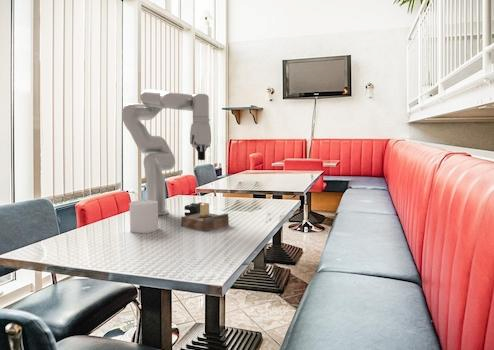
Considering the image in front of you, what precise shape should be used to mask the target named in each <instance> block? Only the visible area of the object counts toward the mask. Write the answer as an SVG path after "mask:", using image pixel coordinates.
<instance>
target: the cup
mask: <svg viewBox="0 0 494 350" xmlns="http://www.w3.org/2000/svg"><path fill="white" fill-rule="evenodd" d="M129 230H130V232H131V233H135V234H147V233H154V232H156V231H158V230H159V215H158V202H157V201H153V200H147V199H146V200H145V199H143V200H141V199H140V200H134V201H130V202H129Z"/></svg>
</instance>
